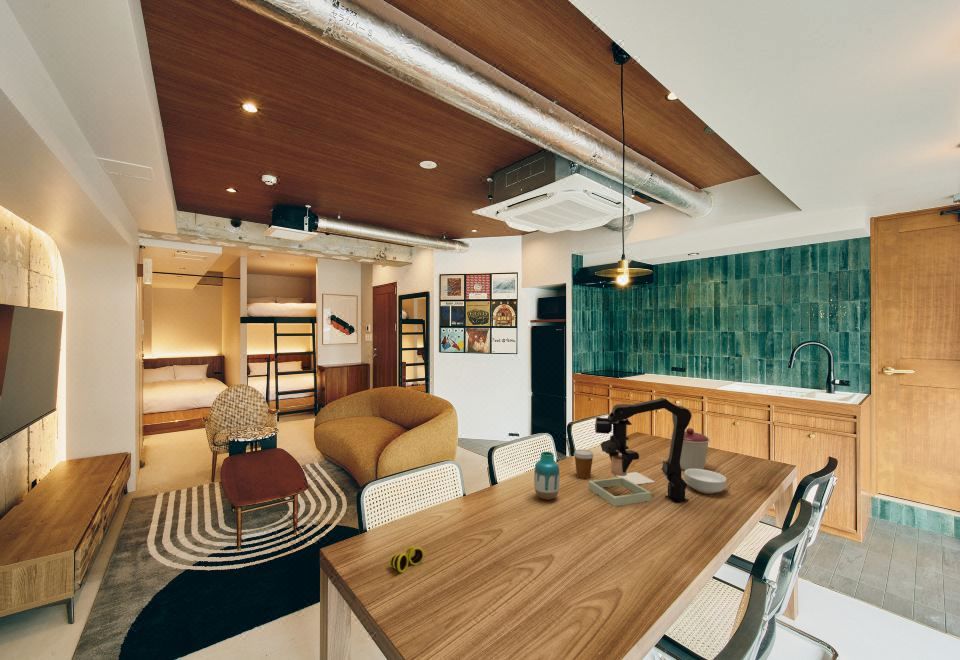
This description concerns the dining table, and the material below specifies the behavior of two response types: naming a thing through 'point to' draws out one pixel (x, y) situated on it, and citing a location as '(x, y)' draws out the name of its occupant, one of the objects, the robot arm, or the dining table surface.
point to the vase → (546, 477)
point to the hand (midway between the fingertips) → (619, 469)
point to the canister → (693, 450)
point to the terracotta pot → (617, 466)
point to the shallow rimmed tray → (639, 495)
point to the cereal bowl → (705, 480)
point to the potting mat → (637, 478)
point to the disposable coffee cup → (583, 462)
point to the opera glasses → (406, 559)
